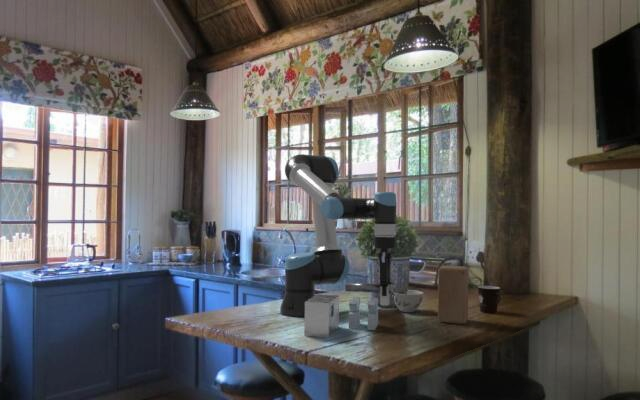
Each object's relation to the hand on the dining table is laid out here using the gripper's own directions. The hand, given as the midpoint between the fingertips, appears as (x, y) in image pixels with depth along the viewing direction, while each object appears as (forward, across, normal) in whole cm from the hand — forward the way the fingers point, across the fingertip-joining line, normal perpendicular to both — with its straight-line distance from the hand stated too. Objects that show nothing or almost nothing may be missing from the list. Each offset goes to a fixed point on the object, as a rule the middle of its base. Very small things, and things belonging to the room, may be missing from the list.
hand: (385, 304), depth 176 cm
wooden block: (+8, +19, -23) cm, 31 cm away
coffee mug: (+8, +40, -38) cm, 56 cm away
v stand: (+8, 0, +7) cm, 11 cm away
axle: (-4, 0, +6) cm, 7 cm away
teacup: (+8, +34, -6) cm, 36 cm away
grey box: (+8, -11, +20) cm, 24 cm away
